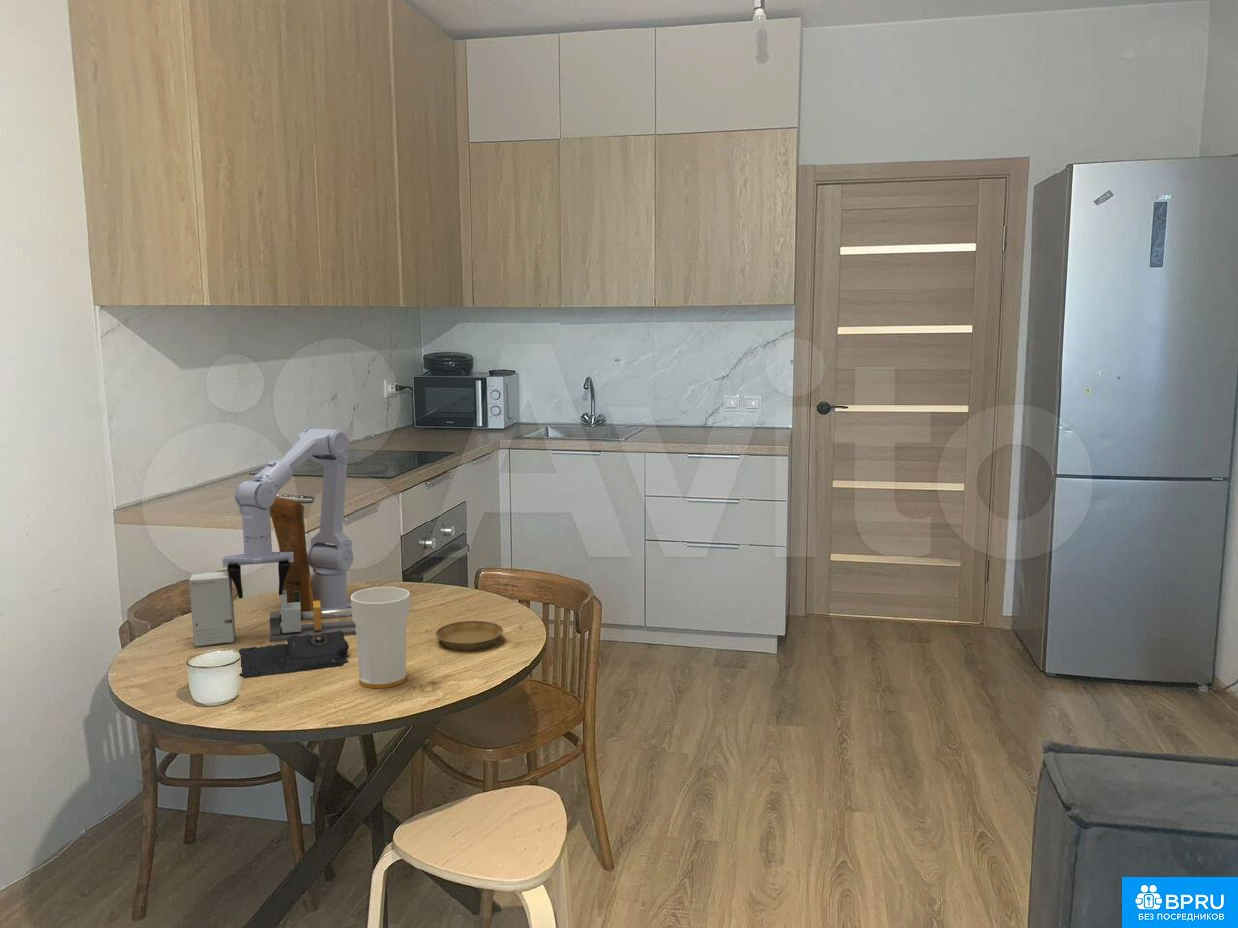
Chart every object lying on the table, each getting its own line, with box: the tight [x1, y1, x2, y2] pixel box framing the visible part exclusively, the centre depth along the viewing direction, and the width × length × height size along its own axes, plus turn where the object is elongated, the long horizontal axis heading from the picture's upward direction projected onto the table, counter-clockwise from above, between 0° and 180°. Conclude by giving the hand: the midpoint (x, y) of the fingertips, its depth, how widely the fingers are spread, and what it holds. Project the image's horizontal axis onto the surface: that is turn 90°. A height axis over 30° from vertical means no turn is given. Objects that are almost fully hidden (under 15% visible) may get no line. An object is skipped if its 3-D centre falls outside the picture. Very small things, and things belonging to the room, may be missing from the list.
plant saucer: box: [434, 620, 504, 651], centre depth 211 cm, size 15×15×3 cm
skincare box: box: [188, 571, 236, 647], centre depth 209 cm, size 8×6×15 cm
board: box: [269, 619, 356, 643], centre depth 217 cm, size 26×8×1 cm, turn 108°
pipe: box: [269, 607, 352, 637], centre depth 217 cm, size 26×5×5 cm, turn 108°
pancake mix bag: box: [270, 496, 314, 612], centre depth 230 cm, size 7×19×28 cm, turn 38°
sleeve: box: [280, 590, 302, 633], centre depth 214 cm, size 4×5×8 cm
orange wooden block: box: [313, 601, 322, 630], centre depth 216 cm, size 2×5×5 cm, turn 18°
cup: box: [350, 586, 411, 689], centre depth 188 cm, size 11×11×17 cm
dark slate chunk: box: [238, 631, 350, 679], centre depth 199 cm, size 15×22×5 cm
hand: (260, 595), depth 211 cm, fingers open, 7 cm apart
